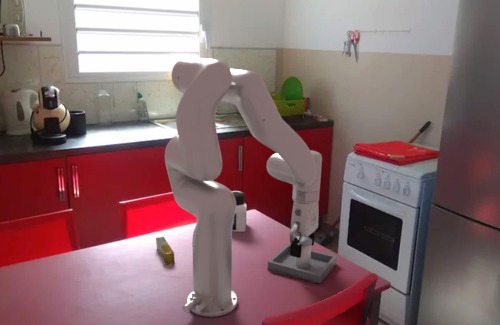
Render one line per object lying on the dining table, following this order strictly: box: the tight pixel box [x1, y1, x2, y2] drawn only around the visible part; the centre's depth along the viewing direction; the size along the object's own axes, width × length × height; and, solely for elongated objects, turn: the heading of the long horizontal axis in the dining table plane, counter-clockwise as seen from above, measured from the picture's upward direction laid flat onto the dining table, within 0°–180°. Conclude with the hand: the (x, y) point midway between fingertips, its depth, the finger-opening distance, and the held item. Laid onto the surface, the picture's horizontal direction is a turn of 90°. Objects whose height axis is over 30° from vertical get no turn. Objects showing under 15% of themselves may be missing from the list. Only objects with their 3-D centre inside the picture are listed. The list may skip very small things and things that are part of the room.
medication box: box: [155, 236, 176, 266], centre depth 137 cm, size 12×3×4 cm, turn 25°
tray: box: [267, 244, 338, 285], centre depth 132 cm, size 14×16×2 cm
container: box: [230, 190, 248, 233], centre depth 158 cm, size 8×8×13 cm
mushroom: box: [295, 236, 312, 269], centre depth 131 cm, size 5×5×8 cm
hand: (302, 250), depth 131 cm, fingers open, 9 cm apart
